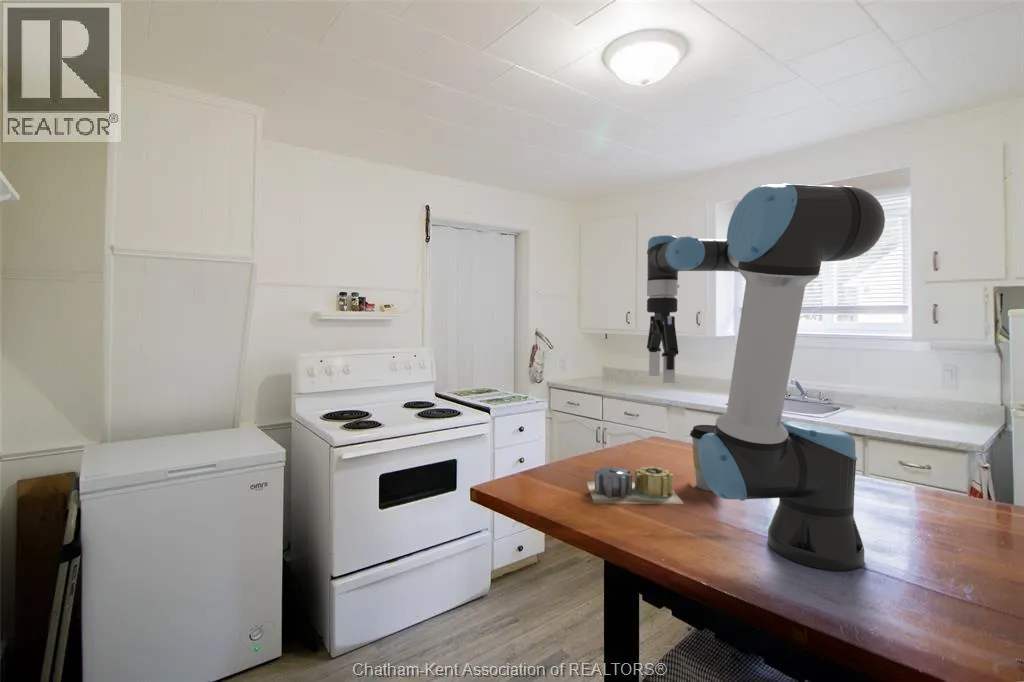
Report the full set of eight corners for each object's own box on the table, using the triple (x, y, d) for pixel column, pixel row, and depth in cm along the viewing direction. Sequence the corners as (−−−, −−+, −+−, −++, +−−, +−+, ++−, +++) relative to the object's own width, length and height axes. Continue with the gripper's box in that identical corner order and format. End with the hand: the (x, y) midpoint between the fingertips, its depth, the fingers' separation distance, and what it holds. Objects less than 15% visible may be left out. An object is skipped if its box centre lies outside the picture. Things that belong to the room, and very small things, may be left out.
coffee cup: (723, 496, 117) (725, 434, 116) (683, 488, 123) (684, 429, 122) (733, 485, 125) (734, 427, 124) (695, 478, 130) (696, 422, 129)
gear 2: (676, 498, 112) (677, 477, 111) (639, 498, 112) (640, 476, 112) (666, 485, 120) (666, 465, 120) (631, 485, 120) (632, 465, 120)
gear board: (684, 510, 109) (684, 480, 109) (594, 509, 110) (594, 480, 109) (666, 488, 123) (666, 461, 123) (586, 487, 123) (586, 461, 123)
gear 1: (634, 498, 112) (635, 477, 112) (598, 498, 112) (598, 476, 112) (627, 485, 120) (627, 465, 120) (593, 485, 121) (593, 465, 120)
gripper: (693, 295, 114) (691, 386, 115) (663, 298, 139) (662, 373, 140) (660, 295, 114) (659, 386, 115) (636, 298, 139) (635, 373, 140)
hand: (661, 379), depth 127 cm, fingers open, 13 cm apart
